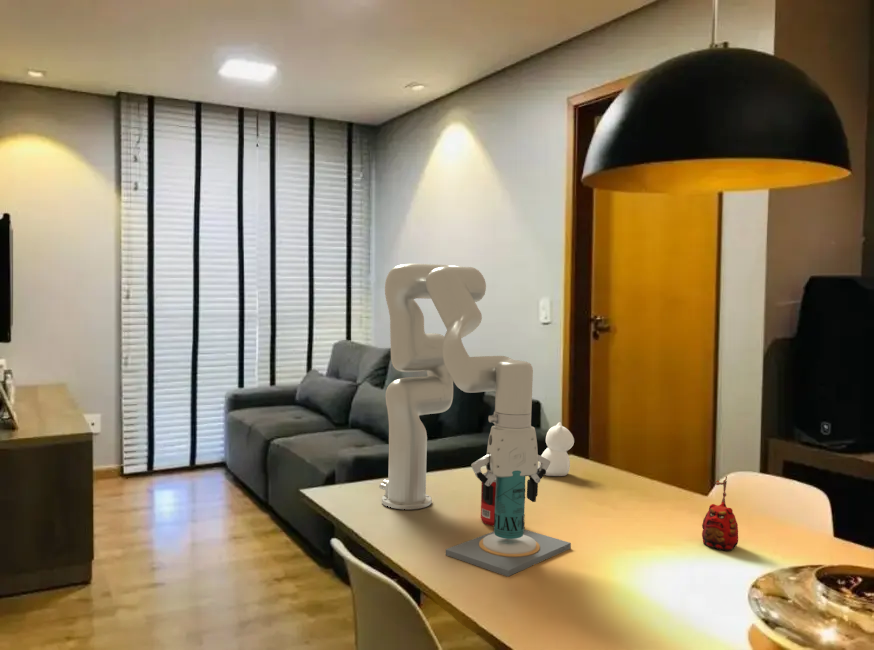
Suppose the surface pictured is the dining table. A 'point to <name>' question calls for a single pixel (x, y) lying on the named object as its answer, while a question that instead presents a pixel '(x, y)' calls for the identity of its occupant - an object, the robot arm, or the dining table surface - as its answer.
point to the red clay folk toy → (720, 525)
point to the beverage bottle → (510, 506)
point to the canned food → (488, 507)
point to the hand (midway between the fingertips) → (510, 501)
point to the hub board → (508, 551)
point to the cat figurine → (558, 450)
